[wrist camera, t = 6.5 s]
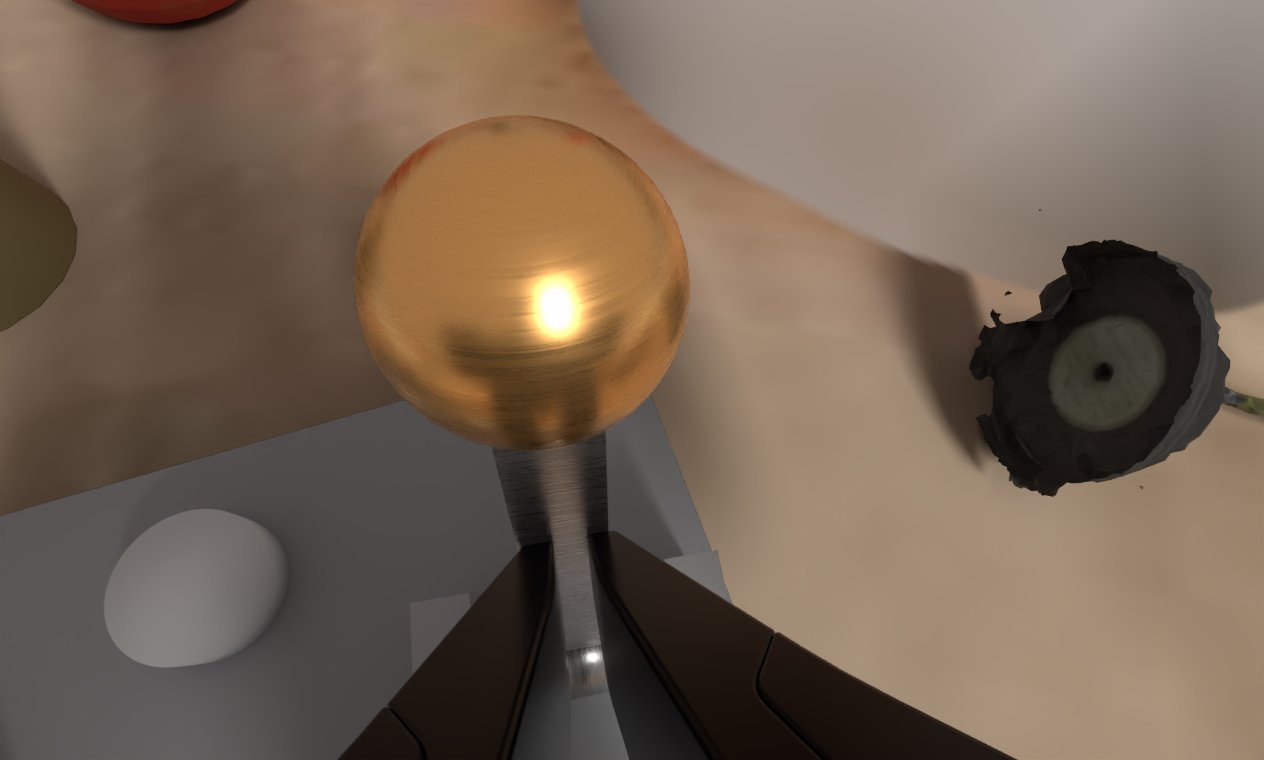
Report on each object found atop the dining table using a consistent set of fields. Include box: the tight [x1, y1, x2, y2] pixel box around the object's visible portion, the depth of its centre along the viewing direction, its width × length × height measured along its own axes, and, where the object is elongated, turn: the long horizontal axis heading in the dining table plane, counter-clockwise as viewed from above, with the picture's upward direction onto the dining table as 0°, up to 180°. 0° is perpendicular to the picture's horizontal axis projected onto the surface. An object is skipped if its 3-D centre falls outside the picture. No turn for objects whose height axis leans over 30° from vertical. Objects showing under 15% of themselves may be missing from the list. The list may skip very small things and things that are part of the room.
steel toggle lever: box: [354, 115, 690, 700], centre depth 9 cm, size 3×3×11 cm
